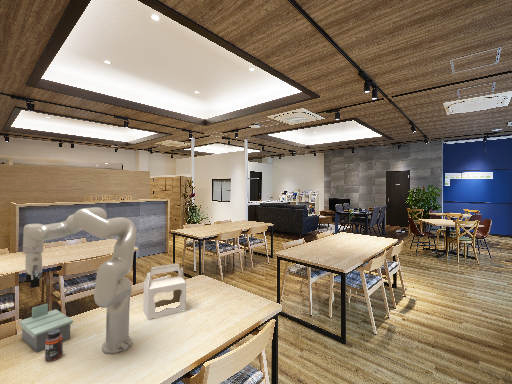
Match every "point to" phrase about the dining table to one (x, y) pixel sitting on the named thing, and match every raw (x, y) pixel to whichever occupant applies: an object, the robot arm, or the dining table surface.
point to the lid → (44, 320)
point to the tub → (44, 338)
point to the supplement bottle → (53, 345)
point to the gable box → (164, 285)
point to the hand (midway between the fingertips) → (32, 284)
